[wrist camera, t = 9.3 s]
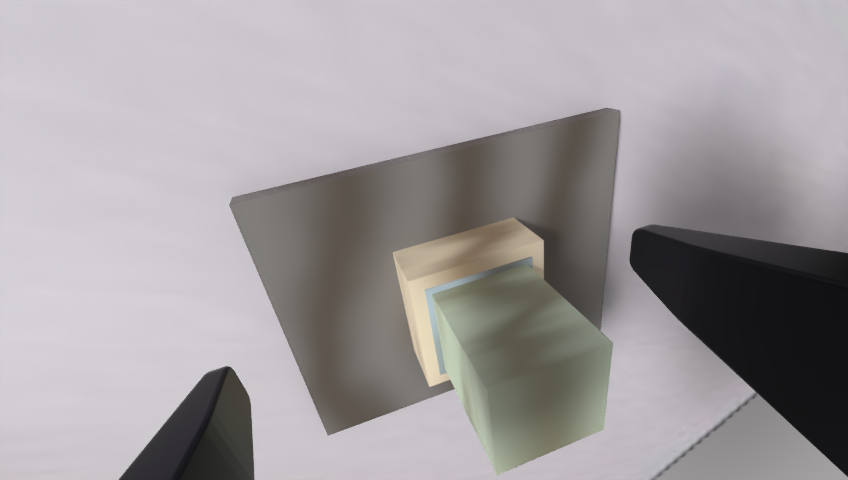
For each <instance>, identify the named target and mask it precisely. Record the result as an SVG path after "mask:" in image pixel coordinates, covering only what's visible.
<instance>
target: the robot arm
mask: <svg viewBox="0 0 848 480" xmlns="http://www.w3.org/2000/svg"><path fill="white" fill-rule="evenodd" d="M630 264H631V267H632V268H633V270H634V271H635V272H636V273H637V274H638V276H639V277H640V278H641V279H642V280H643V281H644V282H645V283H646V284H647V286H648V287H649V288H650V289H651V290H652V291H653V292H654V293H655V295H656V296H657V297H658V298H659V299H660V300H661V301H662V302H663V303H664V305H665V306H666V307H667V308H668V309H669V310H670V311H671V312H672V313H673V314H674V315H675V317H676V318H677V319H678V320H679V321H680V322H681V323H682V324H684V325H685V326H686V327H687V328H688V329H689V330H690V331H691V332H692V333H693V334H694V335H695V336H696V337H697V338H698V339H700V340H701V341H702V342H703V343H704V344H705V345H706V346H707V347H708V348H709V349H710V350H711V351H713V352H714V353H715V354H716V355H717V356H718V357H719V358H720V359H721V360H722V361H723V362H724V363H725V364H727V365H728V366H729V367H730V368H731V369H732V370H733V371H734V372H735V373H736V374H737V375H738V376H739V377H741V378H742V379H743V380H744V381H745V382H746V383H747V384H748V385H749V386H750V387H751V388H752V389H754V390H755V391H756V392H757V393H758V394H759V395H760V396H761V397H762V398H763V399H764V400H766V402H768V403H769V404H770V405H771V406H772V407H773V408H774V409H775V410H776V411H777V412H778V413H780V414H781V415H782V416H783V417H784V418H785V419H786V420H787V421H788V422H789V423H790V424H791V425H792V426H793V427H794V428H796V429H797V430H798V431H799V432H800V433H801V434H802V435H803V436H804V437H805V438H806V439H807V440H809V441H810V442H811V443H812V444H813V445H814V446H815V447H816V448H817V449H818V450H819V451H820V452H821V453H823V454H824V455H825V456H826V457H827V458H828V459H829V460H830V461H831V462H832V463H833V464H834V465H835V466H837V467H838V468H839V469H840V470H841V471H842V472H843V473H844V474H845V475H846V476H847V477H848V253H843V252H837V251H830V250H823V249H816V248H809V247H803V246H796V245H789V244H782V243H776V242H769V241H762V240H755V239H748V238H742V237H735V236H728V235H721V234H715V233H708V232H701V231H694V230H687V229H681V228H674V227H667V226H660V225H647V226H644V227H642V228H639V229H636V230H635V231H634V233H633V235H632V241H631V251H630ZM119 480H254V459H253V439H252V419H251V403H250V399H249V396H248V393H247V392H246V390H245V388H244V386H243V385H242V383H241V381H240V380H239V378H238V376H237V375H236V373H235V371H234V370H233V369H232V368H231V367H228V366H225V367H222V368H219V369H216V370H213V371H210V372H208V373H206V374H205V375H204V376H203V377H202V379H201V380H200V381H199V382H198V383H197V385H196V386H195V387H194V388H193V390H192V391H191V392H190V393H189V394H188V396H187V397H186V398H185V399H184V401H183V402H182V403H181V404H180V405H179V407H178V408H177V409H176V410H175V412H174V413H173V414H172V415H171V416H170V418H169V419H168V420H167V421H166V423H165V424H164V425H163V426H162V427H161V429H160V430H159V431H158V432H157V434H156V435H155V436H154V437H153V438H152V440H151V441H150V442H149V443H148V444H147V446H146V447H145V448H144V449H143V451H142V452H141V453H140V454H139V455H138V457H137V458H136V459H135V460H134V462H133V463H132V464H131V465H130V466H129V468H128V469H127V470H126V471H125V473H124V474H123V475H122V476H121V477H120V479H119Z"/></svg>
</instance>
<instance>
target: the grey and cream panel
mask: <svg viewBox="0 0 848 480" xmlns="http://www.w3.org/2000/svg"><path fill="white" fill-rule="evenodd" d="M619 117H620V110H615V109H610V108H605V109H600V110H596V111H592V112H588V113H584V114H580V115H575V116H571V117H567V118H563V119H559V120H554V121H550V122H546V123H542V124H538V125H534V126H529V127H525V128H521V129H517V130H513V131H508V132H504V133H500V134H496V135H492V136H488V137H483V138H479V139H475V140H471V141H467V142H462V143H458V144H454V145H450V146H446V147H442V148H437V149H433V150H429V151H425V152H421V153H416V154H412V155H408V156H404V157H400V158H396V159H391V160H387V161H383V162H379V163H375V164H370V165H366V166H362V167H358V168H354V169H350V170H345V171H341V172H337V173H333V174H329V175H324V176H320V177H316V178H312V179H308V180H304V181H299V182H295V183H291V184H287V185H283V186H278V187H274V188H270V189H266V190H262V191H258V192H253V193H249V194H245V195H241V196H237V197H232V199H231V202H230V205H229V206H230V208H231V210H232V213H233V215H234V217H235V220H236V222H237V224H238V227H239V229H240V231H241V234H242V236H243V238H244V241H245V243H246V245H247V248H248V250H249V252H250V255H251V257H252V259H253V262H254V264H255V266H256V269H257V271H258V273H259V276H260V278H261V280H262V283H263V285H264V287H265V290H266V292H267V294H268V297H269V299H270V301H271V304H272V306H273V308H274V311H275V313H276V315H277V318H278V320H279V322H280V325H281V327H282V329H283V332H284V334H285V337H286V339H287V341H288V344H289V346H290V348H291V351H292V353H293V355H294V358H295V360H296V362H297V365H298V367H299V369H300V372H301V374H302V376H303V379H304V381H305V383H306V386H307V388H308V390H309V393H310V395H311V397H312V400H313V402H314V404H315V407H316V409H317V411H318V414H319V416H320V418H321V421H322V423H323V425H324V428H325V430H326V432H327V435H331V434H334V433H336V432H339V431H342V430H344V429H347V428H350V427H353V426H355V425H358V424H361V423H363V422H366V421H369V420H372V419H374V418H377V417H380V416H382V415H385V414H388V413H390V412H393V411H396V410H399V409H401V408H404V407H407V406H409V405H412V404H415V403H418V402H420V401H423V400H426V399H428V398H431V397H434V396H436V395H439V394H442V393H445V392H447V391H450V390H453V389H455V388H454V386H453V384H452V382H451V380H450V378H449V376H448V374H447V372H446V370H445V365H444V359H443V354H442V348H441V343H440V337H439V332H438V326H437V321H436V315H435V310H434V304H433V299H432V294H434V293H437V292H440V291H444V290H447V289H450V288H453V287H456V286H459V285H462V284H465V283H469V282H472V281H475V280H478V279H481V278H484V277H487V276H490V275H494V274H497V273H500V272H503V271H506V270H509V269H512V268H515V267H519V266H522V265H525V264H527V265H528V266H530V267H531V268H532V269H533V270H534V271H535V272H536V273H537V274H538V275H539V276H540V277H542V278H543V279H544V280H545V281H546V282H547V283H548V284H549V285H550V286H551V287H553V288H554V289H555V290H556V291H557V292H558V293H559V294H560V295H561V296H562V297H563V298H565V299H566V300H567V301H568V302H569V303H570V304H571V305H572V306H573V307H574V308H575V309H577V310H578V311H579V312H580V313H581V314H582V315H583V316H584V317H585V318H586V319H588V320H589V321H590V322H591V323H592V324H593V325H594V326H595V327H596V328H597V329H598V330H600V327H601V316H602V305H603V294H604V283H605V272H606V261H607V250H608V238H609V227H610V216H611V205H612V194H613V183H614V172H615V161H616V150H617V139H618V128H619Z"/></svg>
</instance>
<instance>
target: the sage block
mask: <svg viewBox="0 0 848 480" xmlns="http://www.w3.org/2000/svg"><path fill="white" fill-rule="evenodd" d="M432 299H433V304H434V310H435V315H436V321H437V326H438V332H439V337H440V343H441V348H442V354H443V359H444V365H445V370H446V372H447V374H448V376H449V378H450V380H451V382H452V384H453V386H454V388H455V390H456V392H457V394H458V396H459V399H460V401H461V403H462V405H463V407H464V409H465V411H466V413H467V415H468V417H469V419H470V421H471V423H472V425H473V427H474V429H475V432H476V434H477V436H478V438H479V440H480V442H481V444H482V446H483V448H484V450H485V452H486V454H487V456H488V458H489V460H490V462H491V465H492V467H493V469H494V471H495V473H496V475H499V474H501V473H503V472H506V471H508V470H510V469H513V468H515V467H517V466H520V465H522V464H524V463H527V462H529V461H531V460H534V459H536V458H538V457H541V456H543V455H545V454H548V453H550V452H552V451H555V450H557V449H559V448H562V447H564V446H566V445H569V444H571V443H573V442H576V441H578V440H580V439H583V438H585V437H587V436H590V435H592V434H594V433H597V432H599V431H601V430H604V421H605V412H606V403H607V393H608V384H609V375H610V365H611V356H612V347H613V342H612V341H611V340H609V339H608V338H607V337H606V336H605V335H604V334H603V333H602V332H601V331H600V330H598V329H597V328H596V327H595V326H594V325H593V324H592V323H591V322H590V321H589V320H588V319H586V318H585V317H584V316H583V315H582V314H581V313H580V312H579V311H578V310H577V309H575V308H574V307H573V306H572V305H571V304H570V303H569V302H568V301H567V300H566V299H565V298H563V297H562V296H561V295H560V294H559V293H558V292H557V291H556V290H555V289H554V288H553V287H551V286H550V285H549V284H548V283H547V282H546V281H545V280H544V279H543V278H542V277H540V276H539V275H538V274H537V273H536V272H535V271H534V270H533V269H532V268H531V267H530V266H528V265H527V264H525V265H522V266H519V267H515V268H512V269H509V270H506V271H503V272H500V273H497V274H494V275H490V276H487V277H484V278H481V279H478V280H475V281H472V282H469V283H465V284H462V285H459V286H456V287H453V288H450V289H447V290H444V291H440V292H437V293H434V294H432Z"/></svg>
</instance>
